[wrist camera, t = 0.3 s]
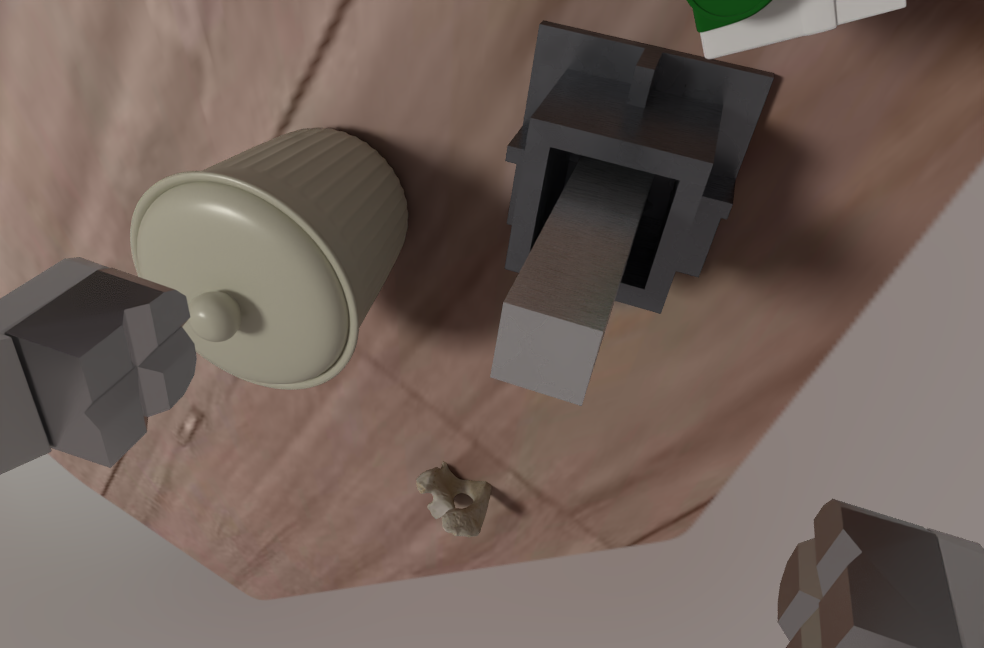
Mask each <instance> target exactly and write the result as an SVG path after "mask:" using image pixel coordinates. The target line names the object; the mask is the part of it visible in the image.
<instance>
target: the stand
mask: <svg viewBox="0 0 984 648" xmlns="http://www.w3.org/2000/svg"><path fill="white" fill-rule="evenodd" d="M773 79H774V73H770V72H766V71H762V70H757V69H753V68H749V67H744V66H740V65H735V64H731V63H727V62H722V61H718V60H714V59H707V58H705V57H701V56H696V55H692V54H687V53H683V52H679V51H674V50H670V49H666V48H661V47H657V46H652V45H648V44H644V43H639V42H635V41H631V40H626V39H622V38H617V37H613V36H609V35H604V34H600V33H596V32H591V31H587V30H582V29H578V28H574V27H569V26H565V25H561V24H556V23H552V22H547V21H542V22H541V23H540V25H539V31H538V37H537V43H536V49H535V55H534V61H533V67H532V73H531V79H530V85H529V91H528V97H527V104H526V110H525V116H524V122H523V126H522V127H521V129H520V130H519V131H518V133H517V134H516V135H515V137H514V138H513V139H512V141H511V142H510V143H509V145H508V147H507V153H506V160H505V161H507V162H511V163H515V164H516V170H515V176H514V183H513V189H512V195H511V201H510V207H509V213H508V219H507V224H509V225H512V228H511V234H510V240H509V246H508V252H507V258H506V264H505V269H507V270H511V271H514V272H518V273H519V272H520V270H521V268H522V266H523V265H524V263H525V261H526V259H527V257H528V255H529V253H530V251H531V250H532V248H533V246H534V244H535V242H536V240H537V238H538V237H539V235H540V233H541V231H542V229H543V227H544V225H545V223H546V222H547V220H548V218H549V216H550V214H551V212H552V210H553V208H554V207H555V205H556V203H557V201H558V199H559V197H560V195H561V193H562V192H563V190H564V188H565V186H566V184H567V182H568V180H569V179H570V177H571V175H572V173H573V171H574V169H575V167H576V165H577V164H578V162H579V160H580V158H581V156H582V155H583V156H587V157H591V158H595V159H598V160H602V161H606V162H610V163H614V164H618V165H622V166H626V167H629V168H633V169H637V170H641V171H645V172H649V173H653V174H654V177H653V181H652V184H651V187H650V191H649V194H648V197H647V201H646V204H645V207H644V210H643V213H642V216H641V220H640V223H639V226H638V229H637V232H636V235H635V239H634V242H633V245H632V248H631V251H630V254H629V258H628V261H627V264H626V267H625V270H624V273H623V277H622V280H621V283H620V286H619V289H618V292H617V296H616V299H615V301H618V302H621V303H625V304H628V305H632V306H635V307H639V308H642V309H646V310H649V311H653V312H656V313H659V314H661V312H662V309H663V306H664V303H665V300H666V297H667V294H668V292H669V289H670V286H671V283H672V280H673V277H674V275H675V272H676V271H677V272H681V273H685V274H688V275H692V276H695V277H699V275H700V272H701V270H702V267H703V264H704V262H705V259H706V256H707V254H708V251H709V248H710V246H711V243H712V240H713V238H714V235H715V232H716V230H717V227H718V224H719V222H720V219H721V218H723V219H727V218H728V216H729V213H730V210H731V208H732V205H733V198H734V189H735V179H736V177H737V174H738V172H739V169H740V166H741V164H742V161H743V158H744V156H745V153H746V150H747V148H748V145H749V142H750V140H751V137H752V134H753V132H754V129H755V126H756V124H757V121H758V119H759V116H760V113H761V111H762V108H763V105H764V103H765V100H766V97H767V95H768V92H769V89H770V87H771V84H772V81H773Z"/></svg>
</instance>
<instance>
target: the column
mask: <svg viewBox="0 0 984 648" xmlns="http://www.w3.org/2000/svg"><path fill="white" fill-rule="evenodd" d="M653 177H654V174H653V173H649V172H645V171H641V170H637V169H633V168H629V167H626V166H622V165H618V164H614V163H610V162H606V161H602V160H598V159H595V158H591V157H587V156H583V155H582V156H581V158H580V160H579V162H578V164H577V165H576V167H575V169H574V171H573V173H572V175H571V177H570V179H569V180H568V182H567V184H566V186H565V188H564V190H563V192H562V193H561V195H560V197H559V199H558V201H557V203H556V205H555V207H554V208H553V210H552V212H551V214H550V216H549V218H548V220H547V222H546V223H545V225H544V227H543V229H542V231H541V233H540V235H539V237H538V238H537V240H536V242H535V244H534V246H533V248H532V250H531V251H530V253H529V255H528V257H527V259H526V261H525V263H524V265H523V266H522V268H521V270H520V272H519V274H518V276H517V278H516V280H515V281H514V283H513V285H512V287H511V289H510V291H509V293H508V294H507V296H506V298H505V300H504V302H503V307H502V313H501V319H500V324H499V330H498V336H497V342H496V347H495V353H494V359H493V364H492V370H491V376H490V377H491V378H495V379H498V380H501V381H504V382H507V383H510V384H514V385H517V386H520V387H523V388H526V389H529V390H532V391H536V392H539V393H542V394H545V395H548V396H551V397H555V398H558V399H561V400H564V401H567V402H570V403H574V404H577V405H580V406H582V403H583V400H584V397H585V394H586V390H587V387H588V384H589V381H590V378H591V375H592V371H593V368H594V365H595V362H596V359H597V356H598V352H599V349H600V346H601V343H602V340H603V337H604V333H605V330H606V327H607V324H608V321H609V318H610V314H611V311H612V308H613V305H614V302H615V299H616V296H617V292H618V289H619V286H620V283H621V280H622V277H623V273H624V270H625V267H626V264H627V261H628V258H629V254H630V251H631V248H632V245H633V242H634V239H635V235H636V232H637V229H638V226H639V223H640V220H641V216H642V213H643V210H644V207H645V204H646V201H647V197H648V194H649V191H650V187H651V184H652V181H653Z"/></svg>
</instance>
